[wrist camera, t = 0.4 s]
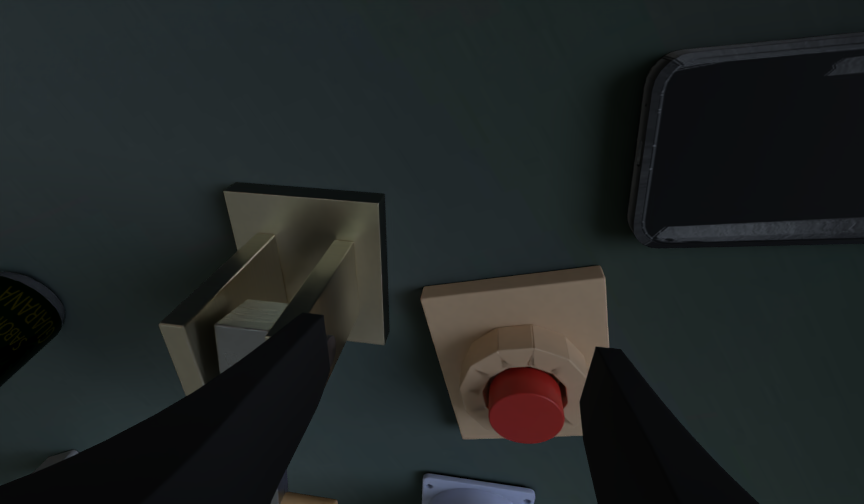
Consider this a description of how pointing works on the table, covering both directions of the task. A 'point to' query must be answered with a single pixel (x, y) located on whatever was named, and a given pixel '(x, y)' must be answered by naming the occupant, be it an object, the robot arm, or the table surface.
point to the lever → (237, 341)
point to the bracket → (290, 272)
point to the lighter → (56, 459)
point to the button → (525, 405)
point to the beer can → (25, 321)
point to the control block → (517, 337)
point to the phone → (752, 146)
